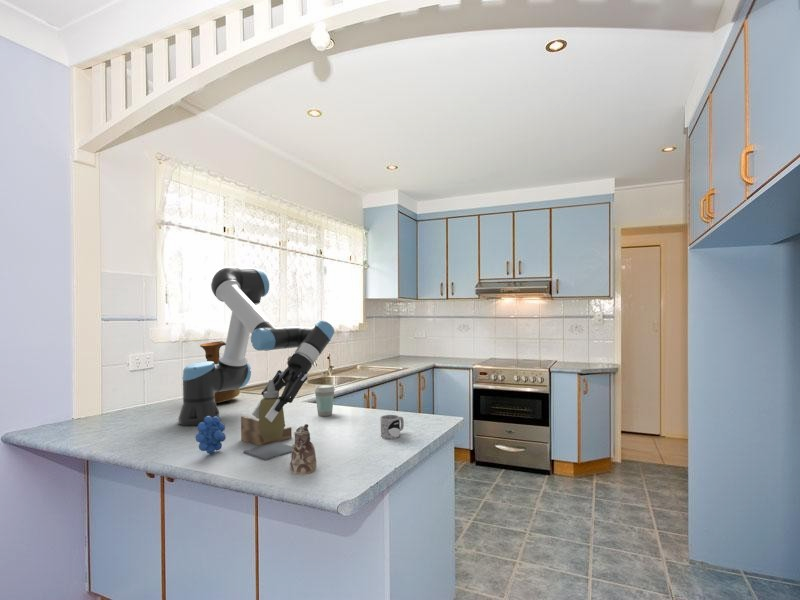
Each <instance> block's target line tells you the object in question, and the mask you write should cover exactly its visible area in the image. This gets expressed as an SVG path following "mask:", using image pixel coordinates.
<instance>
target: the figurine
mask: <svg viewBox="0 0 800 600" xmlns="http://www.w3.org/2000/svg"><path fill="white" fill-rule="evenodd" d="M291 446H292V447H293V448H292V452H291V456H290V462H289V468H290V469H289V470H290V472H291V474H292V473H293V474H292V475H297V474H301V475H308V474H309V475H310V474H312V473H314V472H315V471H316V469H317V457H316V450H315V446H314V444H313V442H311V434H310V432H309V424H307V423H305V424H304V426H299V427H298V428H297V429H296V430H295V431H294V444H292V445H291Z"/></svg>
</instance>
